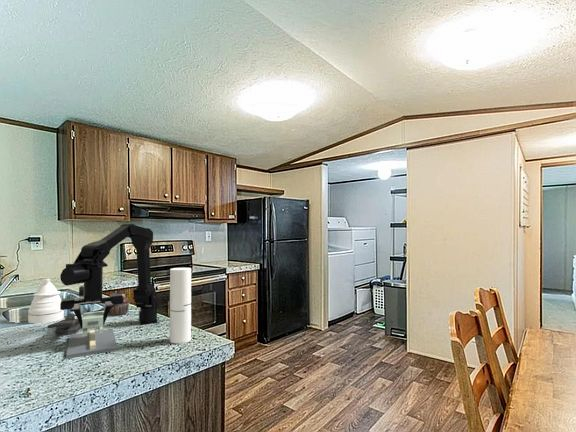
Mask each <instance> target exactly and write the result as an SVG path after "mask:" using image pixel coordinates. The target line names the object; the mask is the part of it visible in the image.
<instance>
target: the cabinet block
mask: <svg viewBox="0 0 576 432" xmlns="http://www.w3.org/2000/svg"><path fill="white" fill-rule="evenodd" d="M103 313H104V312H103V310H100V311H91V312H90V311H89V312H83V313H82V321H83V325H82V328H81V329H82V331H81V333H82V336H87V333H88V329H90V328H91V329H92V328H97V331H98V334H103V330H104V325H103Z"/></svg>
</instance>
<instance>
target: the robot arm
mask: <svg viewBox="0 0 576 432" xmlns="http://www.w3.org/2000/svg"><path fill="white" fill-rule="evenodd" d="M127 238H129V239H130V240H131V244H132V246H133V247H134V249H135V250H136V264H137V265H136V266H137V282H138V283H137V286H136V288H134V289H133V291H132V295H133V298H132V299H133V300H134V303H135V307H136V308H137V309H138V308H139V311H138V322H139V323H140V324H141V325H146V324H147V325H149V324H155V323H158V322H159V321H158V309H159V308H160V307H161V305H162V301H161V299H160V298H159V297H158V295H157V293H156V291H157V290H156V288H155V286H154V285H153V283H152V277H151V276H152V275H151V261H150V260H151V259H150V258H151V257H150V256H151V255H150V249H151V246H152V244H153V243H154V231H153V230H152V229H151V228H148V227H143V226H138V225H136V224H134V223H122V224H121V225H120V226H119V227H117V228H116V229H115V230H113V231H112V232H110V233H109V234H107V235H106V236H105V237H102V238H100V239H99V240H96V241H93V242H89V243H87V244H85V245H83V246H82V247H81V249H80V252H79V254H78V255H77V256H76V258H75V260H74V261H73V263H66V264H65V268H63V269H62V270H61V274H60V276H59V277H60V281H61V283H62V284H63V285H64V286H74V285H79V284H83V286H78V297H83V298H82V299H76V298H75V297H69V298H62V299H61V303H60V310H64V311H66V310H69V312H73V314H75V316H76V317H75V318H76V319H78V321H79V324H80V326H81V329H82V325H83V313H82V309H81V306H87V305H97V304H104V306H103V307H104V308H103V312H102V313H103V326H105V323H106V321H107V317H108V316H109V314H108V313H109V311H110V310H111V308H112V307H115V304H123V295H122V294H118V293H115V294H112V293H111V294H109V296H105V297H103V283H104V282H103V278H104V277H103V272H104V271H103V268H105V267H108V263H106V262H105V261H104V260H105V259H106V258H107V257H108V256H109V255H110V252H111V250H112V249H113V248H114V247H116V246H117V245H118V244H119V243H121V242H123V241H124V240H125V239H127Z"/></svg>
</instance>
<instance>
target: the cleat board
mask: <svg viewBox="0 0 576 432" xmlns="http://www.w3.org/2000/svg"><path fill="white" fill-rule="evenodd" d="M68 336H69V339H68V344H67V350H66V354H65V355H66V358H65V359H71V358H78V357H83V356H89V355H94V354H96V355H97V354H102V353H108V352H115V350H116V351H118V349H119V348H118V344H117V340H116V335H115V331H114V329H112V328H110V329H103V334H98V330H97V331H95V329H90V330H89V332H88V331H87V336H82V332H81V333H76V334H72V335H68Z"/></svg>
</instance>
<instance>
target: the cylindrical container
mask: <svg viewBox="0 0 576 432" xmlns="http://www.w3.org/2000/svg"><path fill="white" fill-rule="evenodd" d="M169 274H170V275H169V278H170V279H169V343H172V344H185V343H188V342H190V341H191V340H192V268H191V267H173V268H170V269H169Z"/></svg>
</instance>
